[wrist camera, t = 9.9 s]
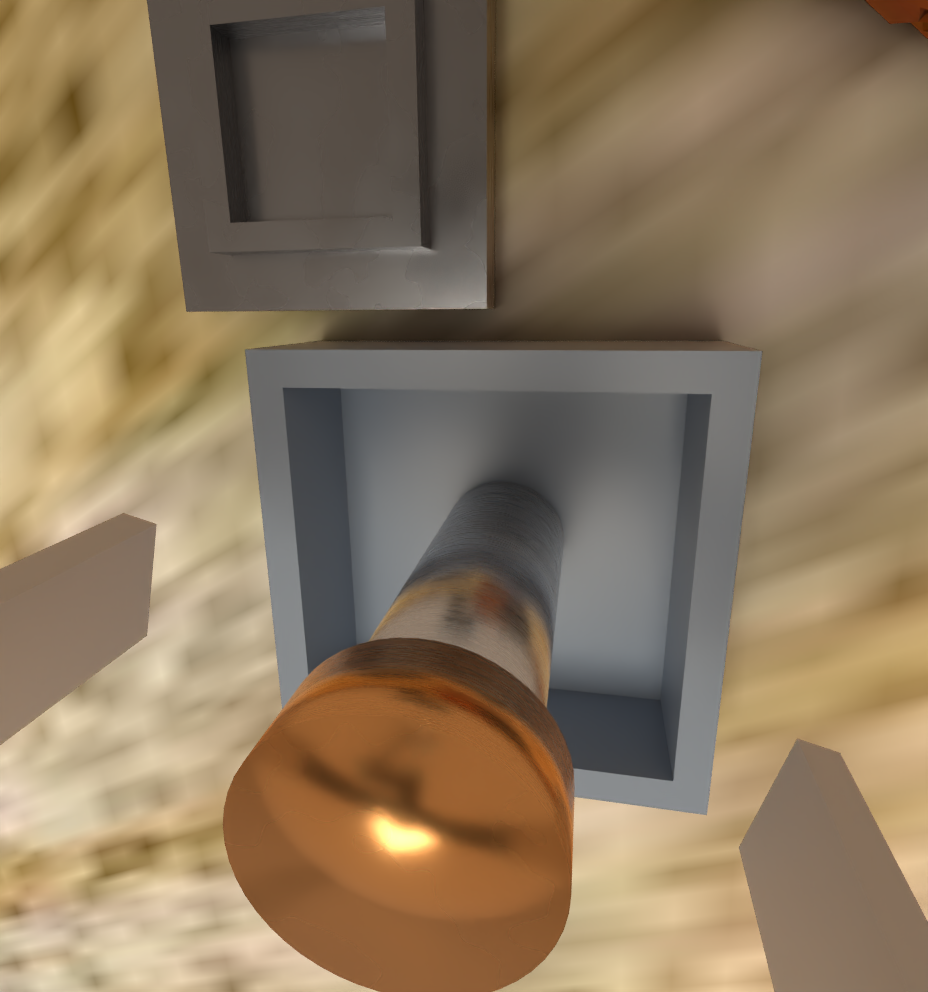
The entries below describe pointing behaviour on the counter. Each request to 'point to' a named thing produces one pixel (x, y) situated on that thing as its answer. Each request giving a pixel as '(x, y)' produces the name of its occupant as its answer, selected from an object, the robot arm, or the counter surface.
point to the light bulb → (425, 773)
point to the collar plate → (330, 151)
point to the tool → (903, 12)
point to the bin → (553, 474)
